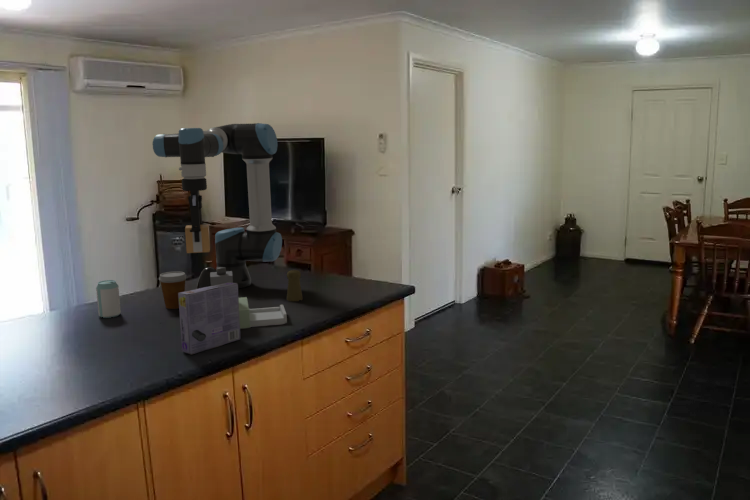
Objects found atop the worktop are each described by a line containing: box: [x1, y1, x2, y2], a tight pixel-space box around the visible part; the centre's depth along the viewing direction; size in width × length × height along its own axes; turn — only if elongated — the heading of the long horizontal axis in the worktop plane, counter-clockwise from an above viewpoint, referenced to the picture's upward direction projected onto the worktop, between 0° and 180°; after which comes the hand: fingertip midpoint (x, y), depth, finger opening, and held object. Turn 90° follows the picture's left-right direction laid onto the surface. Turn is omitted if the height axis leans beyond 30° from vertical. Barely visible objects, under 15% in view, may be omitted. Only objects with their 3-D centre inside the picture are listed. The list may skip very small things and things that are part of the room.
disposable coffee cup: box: [158, 271, 187, 310], centre depth 228 cm, size 10×10×12 cm
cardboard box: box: [184, 224, 211, 254], centre depth 203 cm, size 6×7×8 cm
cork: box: [286, 269, 304, 302], centre depth 236 cm, size 6×6×11 cm
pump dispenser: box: [196, 266, 216, 289], centre depth 224 cm, size 10×10×15 cm
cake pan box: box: [178, 282, 241, 356], centre depth 186 cm, size 19×5×18 cm, turn 141°
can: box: [95, 279, 122, 319], centre depth 217 cm, size 7×7×12 cm
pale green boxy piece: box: [210, 267, 288, 330], centre depth 209 cm, size 16×26×18 cm, turn 104°
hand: (198, 249), depth 204 cm, fingers closed on cardboard box, 6 cm apart
